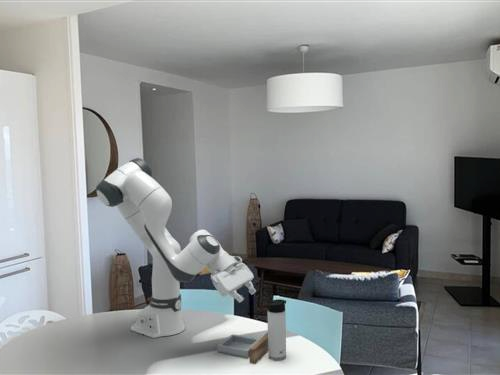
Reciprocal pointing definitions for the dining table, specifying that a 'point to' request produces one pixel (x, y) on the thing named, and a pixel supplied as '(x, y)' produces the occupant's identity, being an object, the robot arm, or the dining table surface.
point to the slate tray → (237, 346)
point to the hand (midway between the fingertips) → (248, 296)
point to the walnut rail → (258, 349)
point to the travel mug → (276, 329)
